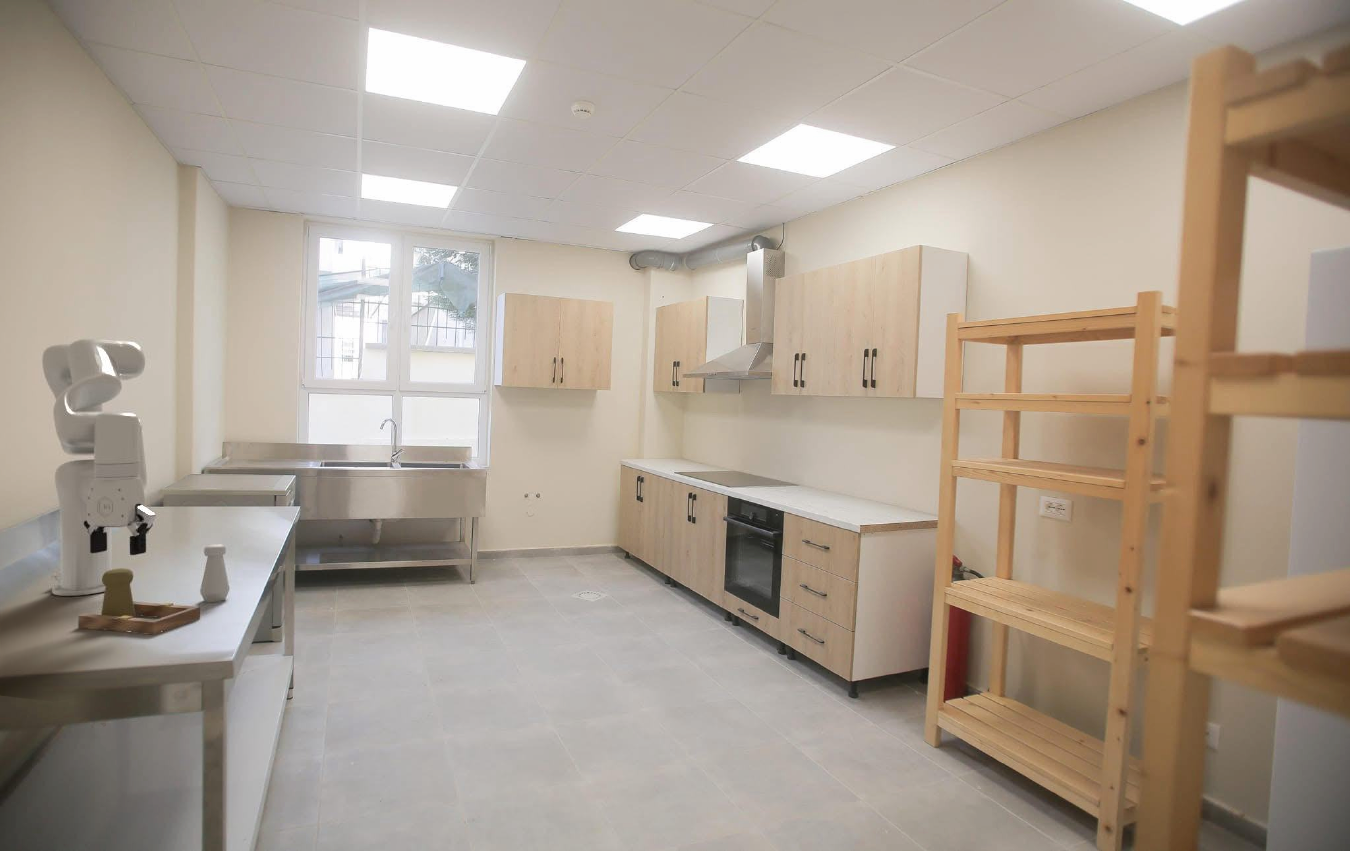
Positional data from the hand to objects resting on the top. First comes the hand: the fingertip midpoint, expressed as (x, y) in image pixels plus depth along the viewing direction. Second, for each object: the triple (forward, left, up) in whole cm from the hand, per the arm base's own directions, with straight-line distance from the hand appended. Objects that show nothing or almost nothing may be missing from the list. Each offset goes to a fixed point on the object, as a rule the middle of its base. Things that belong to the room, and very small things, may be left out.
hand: (118, 553), depth 150 cm
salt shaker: (+6, +18, -15) cm, 24 cm away
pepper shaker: (0, 0, -15) cm, 15 cm away
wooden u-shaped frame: (+5, 0, -15) cm, 15 cm away
